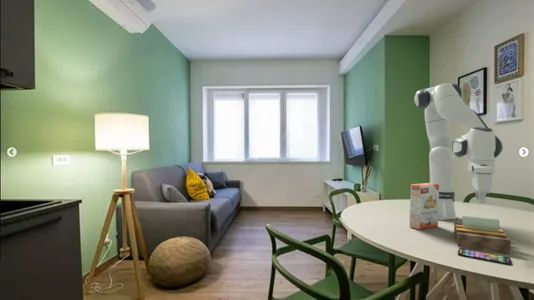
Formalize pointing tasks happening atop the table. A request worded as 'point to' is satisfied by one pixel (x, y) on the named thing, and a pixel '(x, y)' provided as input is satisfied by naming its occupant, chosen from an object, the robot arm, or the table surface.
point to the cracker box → (424, 205)
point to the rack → (481, 239)
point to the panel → (480, 224)
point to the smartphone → (484, 256)
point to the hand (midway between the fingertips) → (480, 201)
